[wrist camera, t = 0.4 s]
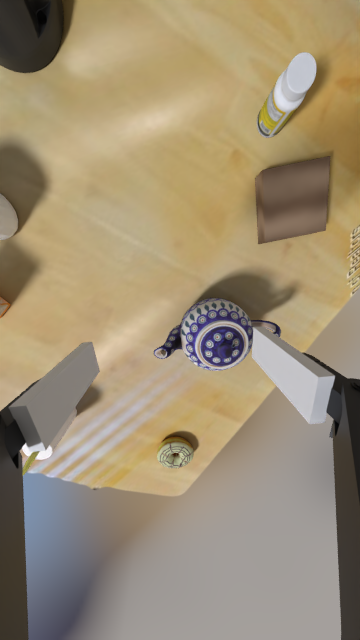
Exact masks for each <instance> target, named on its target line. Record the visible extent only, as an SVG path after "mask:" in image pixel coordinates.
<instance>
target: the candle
mask: <svg viewBox="0 0 360 640" xmlns="http://www.w3.org/2000/svg"><path fill="white" fill-rule="evenodd" d="M76 415H77V410H76V408H74V410H73V411H72V413H71V414H70V416H69V417H68V419H67V420H66V422H65V423H64V425H63V426H62V427H61V429H60V430H59V432H58V433H57V435H56V436H55V438H54V439H53V441H52V442H51V444H50V445H49V447H48V448H47V450H46V451H36V452H30V451H29V449H28V447H27V445H26V443H25V445H24V446H23V447H22V449H23V452H24V453H25V454H26V455H27V456H29V458H28V460H27V461H26V463H25V465H24V467H23V475H24V474H25V473H26V471H27V470H28V468H29V467H30V465H31V464H32V462H33V461H34V460H35V459H39V460H41V459H46V458H48V457H50V456H51V454H52V453H53V451H54V450H55V448H56V446H57V445H58V443H59V442H60V440H61V439H62V437H63V436H64V434H65V432H66V431H67V429H68V428H69V426H70V425H71V423H72V421H73V420H74V418H75V417H76Z"/></svg>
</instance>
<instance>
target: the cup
mask: <svg viewBox="0 0 360 640" xmlns="http://www.w3.org/2000/svg"><path fill="white" fill-rule="evenodd" d="M17 229H18V218H17V214H16V212H15V210H14V208H13V207H12V205H11V204H10V202H9V201H8V200H7V199H6V198H5V197H4V196H3V195H1V194H0V240H4V239H8V238H10V237H11V236H13V235H14V233H15V232H16V230H17Z"/></svg>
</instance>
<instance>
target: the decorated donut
mask: <svg viewBox="0 0 360 640" xmlns="http://www.w3.org/2000/svg"><path fill="white" fill-rule="evenodd" d="M193 452H194V450H193V449H192V446H191V445H190V443H189V442H188V441H186V440H185V439H184V438H181V437H170V438H167V439H165V440H164V441H163V442H162V444H161V445H160V446H159V448H158V451H157V459H158V461H159V462H160V464H162V465H163V466H164V467H168V468H180V467H183V466H185V465H187V464H188V463H189V462H190V461H191V460H192V459H193Z"/></svg>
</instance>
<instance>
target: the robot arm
mask: <svg viewBox="0 0 360 640" xmlns="http://www.w3.org/2000/svg"><path fill="white" fill-rule="evenodd" d="M62 32H63V6H62V0H0V65H2V66H3V67H5V68H7V69H10V70H12V71H16V72H22V73H28V72H34V71H37V70H39V69H41V68H43V67H44V66H46V65H47V64H48V63H49V62H50V61H51V60H52V58H53V57H54V55H55V54H56V52H57V50H58V47H59V45H60V41H61V37H62ZM252 358H253V359H254V360H255V361H256V362H257V363H258V365H259V366H260V367H261V368H262V369H263V370H264V372H265V373H266V374H267V375H268V376H269V377H270V379H271V380H272V381H273V382H274V383H275V384H276V386H277V387H278V388H279V389H280V390H281V391H282V393H283V394H284V395H285V396H286V397H287V398H288V399H289V401H290V402H291V403H292V404H293V405H294V406H295V408H296V409H297V410H298V411H299V412H300V413H301V415H302V416H303V417H304V418H305V419H306V420H307V422H308V423H309V424H314V423H324V422H325V418H326V414H327V413H328V414H329V415H330V416H331V417H332V418H333V419H334V420H333V424H332V428H331V432H330V437H331V438H332V437H333V453H334V475H335V498H336V520H337V542H338V564H339V586H340V607H341V640H360V380H359V379H351V378H350V379H347V378H346V377H344V376H342V375H341V374H340V373H338V372H336V371H335V370H333V369H332V368H330V367H329V366H326V364H324V363H323V362H320V360H318V359H316V358H315V357H313V356H311V355H309V354H306V353H301V352H300V351H298V350H297V349H295V348H294V347H292V346H291V345H289V344H288V343H286V342H285V341H284V340H282V339H281V338H279V337H278V336H276V335H275V334H273V333H272V332H270V331H269V330H267V329H266V328H265V327H263V326H260V327H253V346H252ZM99 372H100V371H99V367H98V363H97V359H96V355H95V351H94V347H93V344H92V342H85V343H82V344H80V345H79V346H78V347H77V348H76V349H75V350H74V351H72V352H71V353H70V354H69V355H68V356H67V357H66V358H64V359H63V360H62V361H61V362H60V363H59V364H58V365H56V366H55V367H54V368H53V369H52V370H51V371H50V372H48V373H47V374H46V375H45V376H44V377H43V378H41V379H39V380H38V381H36V382H34V383H33V384H32V385H30V386H29V387H28V388H27V389H26V391H23V392H22V393H21V394H20V396H18V397H16V398H15V399H14V400H13V401H12V402H11V403H9V404H8V405H7V406H6V407H5V408H4V409H2V410H1V411H0V640H28V613H27V585H26V557H25V529H24V501H23V500H24V499H23V470H22V455H21V453H20V450H21V448H22V447H23V446H24V445H25V443H26V445H27V447H28V449H29V451H30V452H36V451H46V450H47V448H48V447H49V445H50V444H51V442H52V441H53V439H54V438H55V436H56V435H57V433H58V432H59V430H60V429H61V427H62V426H63V425H64V423H65V422H66V420H67V419H68V417H69V416H70V414H71V413H72V411H73V410H74V408H75V407H76V405H77V404H78V402H79V401H80V399H81V398H82V397H83V395H84V394H85V392H86V391H87V389H88V388H89V386H90V385H91V383H92V382H93V380H94V379H95V377H96V376H97V374H98V373H99Z"/></svg>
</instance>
